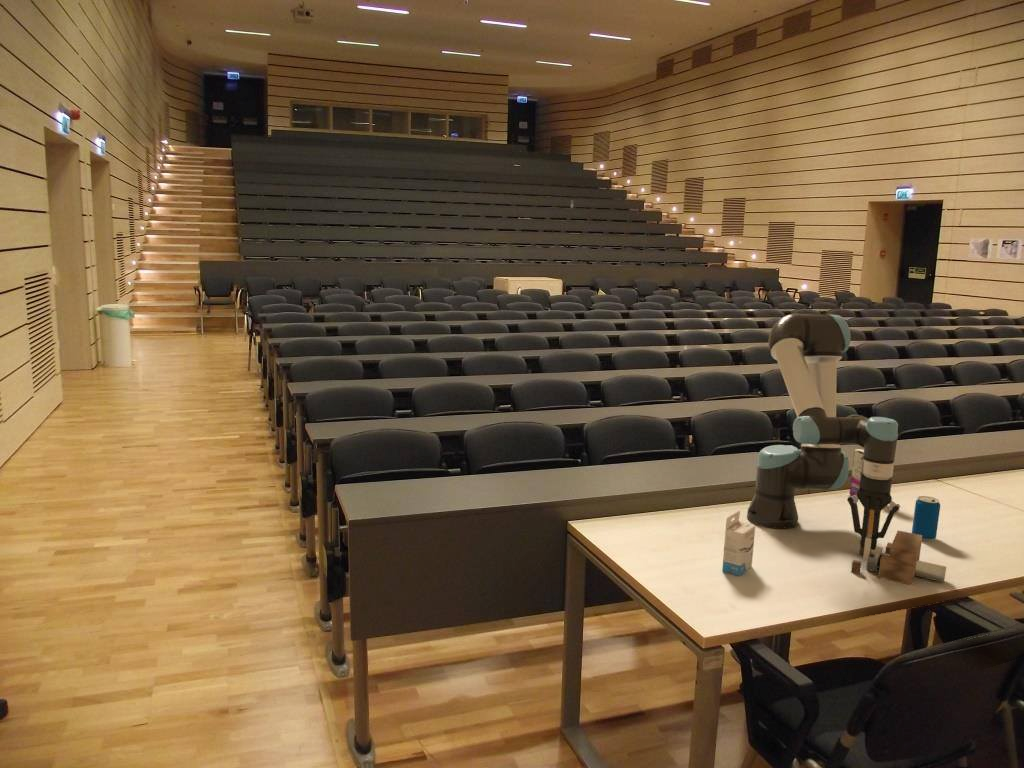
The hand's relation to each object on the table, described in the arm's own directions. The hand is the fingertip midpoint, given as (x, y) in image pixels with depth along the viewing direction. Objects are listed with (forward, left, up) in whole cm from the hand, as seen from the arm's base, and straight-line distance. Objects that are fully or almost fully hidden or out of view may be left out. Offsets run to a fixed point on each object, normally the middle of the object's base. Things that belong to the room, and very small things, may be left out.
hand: (866, 559), depth 210 cm
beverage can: (+11, +32, -2) cm, 34 cm away
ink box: (-28, -24, -2) cm, 37 cm away
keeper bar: (-2, +7, +9) cm, 12 cm away
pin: (+11, 0, -2) cm, 11 cm away
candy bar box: (-9, +60, -2) cm, 61 cm away
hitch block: (+5, 0, -2) cm, 5 cm away
